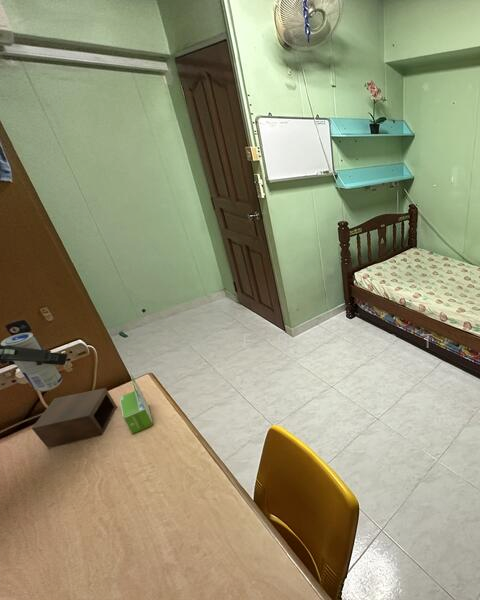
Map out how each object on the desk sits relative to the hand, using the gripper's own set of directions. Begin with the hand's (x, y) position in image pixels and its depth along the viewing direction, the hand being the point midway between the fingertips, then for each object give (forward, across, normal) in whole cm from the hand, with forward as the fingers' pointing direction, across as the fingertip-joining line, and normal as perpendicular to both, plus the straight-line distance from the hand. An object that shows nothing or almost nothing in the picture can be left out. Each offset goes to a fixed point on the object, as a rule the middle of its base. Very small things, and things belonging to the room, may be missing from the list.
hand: (52, 360), depth 80 cm
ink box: (+18, +12, -17) cm, 27 cm away
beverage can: (+1, 0, -6) cm, 7 cm away
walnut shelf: (+17, -2, -18) cm, 24 cm away
